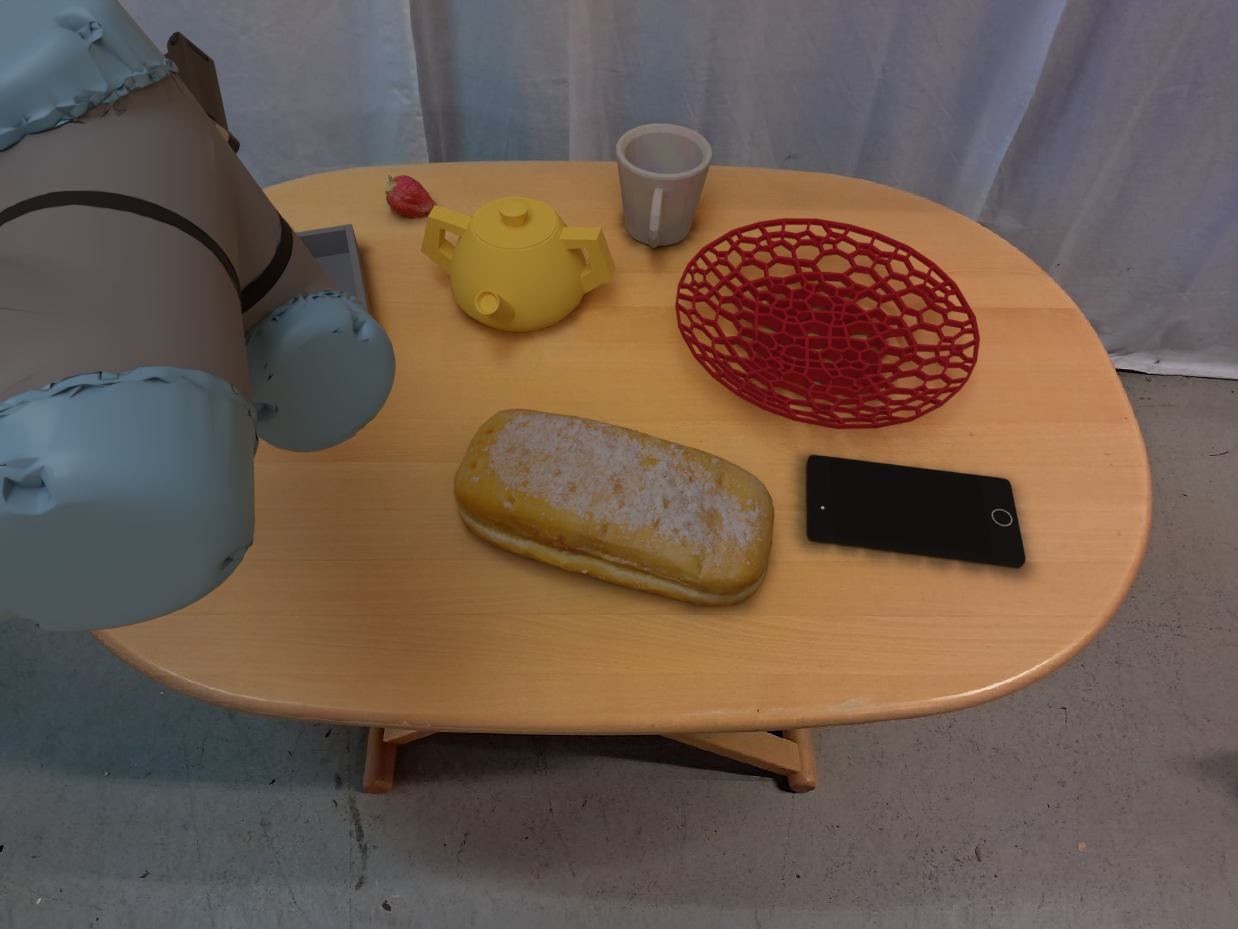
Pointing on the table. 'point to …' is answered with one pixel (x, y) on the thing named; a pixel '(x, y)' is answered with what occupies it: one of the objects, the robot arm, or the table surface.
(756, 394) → the bowl
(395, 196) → the fruit
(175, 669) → the table surface
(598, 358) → the table surface
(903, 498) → the cell phone
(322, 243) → the tray
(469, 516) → the bread
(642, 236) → the mug
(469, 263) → the teapot
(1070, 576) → the table surface
